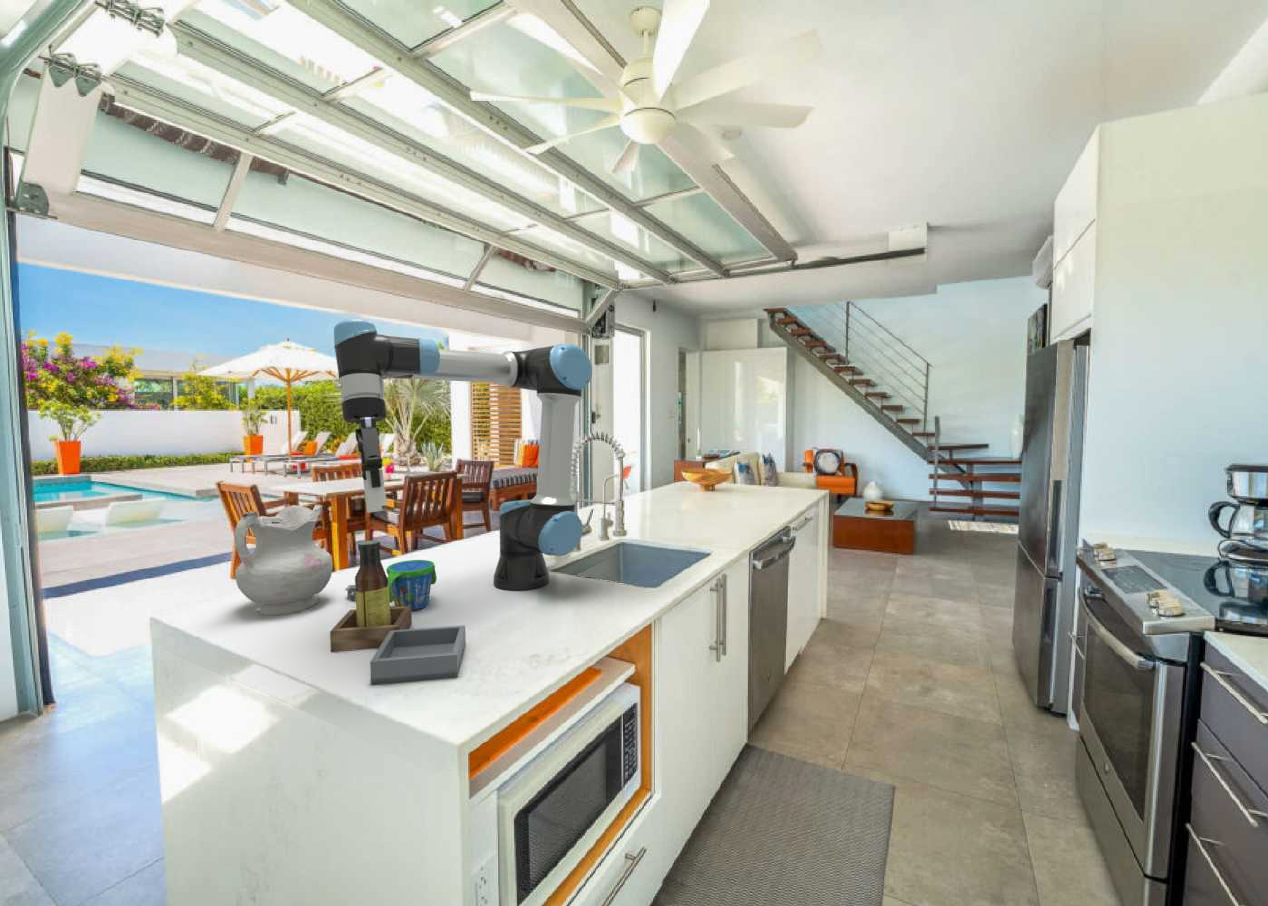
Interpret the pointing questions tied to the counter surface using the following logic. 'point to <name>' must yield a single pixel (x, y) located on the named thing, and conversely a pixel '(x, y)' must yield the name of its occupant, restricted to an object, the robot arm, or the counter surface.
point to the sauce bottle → (371, 587)
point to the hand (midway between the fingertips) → (376, 509)
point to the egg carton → (351, 592)
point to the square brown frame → (367, 630)
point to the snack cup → (411, 583)
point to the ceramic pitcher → (282, 560)
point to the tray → (419, 655)
